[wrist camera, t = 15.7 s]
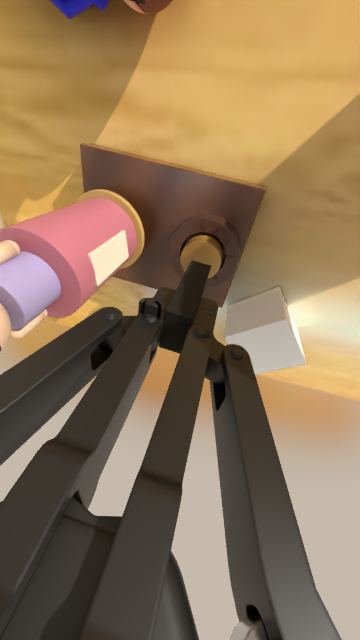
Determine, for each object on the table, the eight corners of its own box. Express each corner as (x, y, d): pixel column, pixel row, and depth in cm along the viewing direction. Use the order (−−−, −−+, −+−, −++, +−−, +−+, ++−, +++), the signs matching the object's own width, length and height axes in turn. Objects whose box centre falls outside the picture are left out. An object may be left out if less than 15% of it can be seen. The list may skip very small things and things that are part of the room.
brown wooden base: (264, 186, 20) (266, 192, 17) (223, 299, 27) (220, 316, 25) (91, 143, 21) (68, 143, 18) (98, 263, 28) (82, 276, 26)
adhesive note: (228, 305, 28) (224, 337, 23) (279, 286, 25) (286, 318, 20) (248, 340, 30) (248, 375, 25) (296, 326, 27) (306, 364, 23)
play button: (227, 240, 20) (226, 247, 19) (216, 276, 22) (214, 284, 21) (188, 229, 20) (184, 235, 19) (181, 266, 23) (176, 274, 21)
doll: (85, 263, 24) (-106, 402, 11) (64, 187, 20) (-282, 270, 7) (147, 270, 23) (15, 436, 10) (140, 190, 19) (-110, 298, 6)
